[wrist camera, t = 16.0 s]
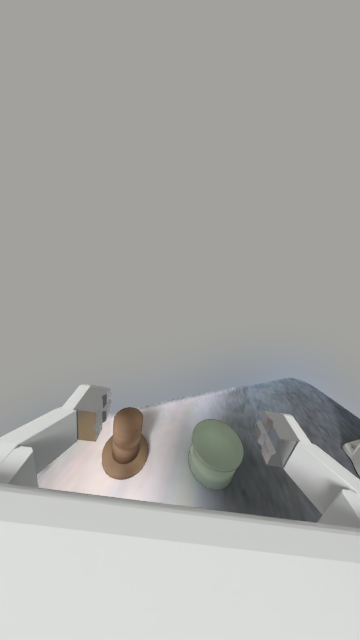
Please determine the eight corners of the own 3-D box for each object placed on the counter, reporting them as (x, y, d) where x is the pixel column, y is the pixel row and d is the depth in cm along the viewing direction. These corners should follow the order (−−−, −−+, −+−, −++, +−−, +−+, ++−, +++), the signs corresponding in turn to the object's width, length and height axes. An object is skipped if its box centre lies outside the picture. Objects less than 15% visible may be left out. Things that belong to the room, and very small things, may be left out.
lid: (139, 428, 40) (143, 396, 37) (153, 466, 33) (159, 430, 30) (99, 442, 36) (99, 407, 33) (105, 489, 29) (107, 450, 26)
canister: (214, 433, 42) (220, 413, 40) (245, 476, 34) (254, 455, 32) (178, 448, 37) (183, 428, 35) (205, 503, 30) (214, 481, 28)
